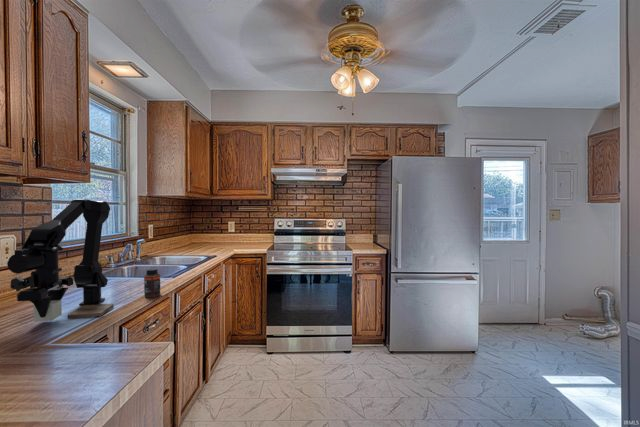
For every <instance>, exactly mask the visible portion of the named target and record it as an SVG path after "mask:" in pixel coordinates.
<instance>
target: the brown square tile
mask: <svg viewBox="0 0 640 427" xmlns="http://www.w3.org/2000/svg"><path fill="white" fill-rule="evenodd" d="M112 307H113V308H115V306H114V303H103V304H102V303H99V304H92V305H80V307H78V308H76V309H75V310H73V311H72V312H70V313H68V314H67V319H79V318H78V317H84V318H93V317H92V316H101V317H102V315H103V314H104V313H105V314H107V313H108V312H109V311H110V310H112V309H113V308H112ZM111 308H112V309H111ZM109 309H110V310H109ZM108 310H109V311H108ZM107 311H108V312H107ZM105 314H104V315H105ZM104 315H103V316H104Z"/></svg>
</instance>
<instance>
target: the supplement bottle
mask: <svg viewBox="0 0 640 427" xmlns="http://www.w3.org/2000/svg"><path fill="white" fill-rule="evenodd" d="M143 282H144V284H143V288H144V290H143V291H144V293H143V294H144V297H145V298H146V299H147V298H149V299H151V298H156V297H159V296H160V295H161V274H160V273H159V272H158V268H156V267H155V268H153V267H151V268H147V269H146V274H145V275H144V276H143Z"/></svg>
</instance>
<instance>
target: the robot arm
mask: <svg viewBox="0 0 640 427" xmlns="http://www.w3.org/2000/svg"><path fill="white" fill-rule="evenodd" d="M110 211H111V207H110V205H109V204H108V202H107V201H104V200H102V201H101V200H100V201H99V200H91V199H87V198H74V199H72V200H71V201H70V203H69V204H68V205H67V206H66V207H65V208H64V209H63V210H61V211H60V212H59V213H58V214H57V215H56V216H55V217H53V219H51V220H49V221H47V222H43V223H41V224H39V225H37V226H36V227H34V228H33V229H32V230H30V232H29V235H28V237H27V238H26V240H25V242H24V243H23V244H22V246H21V248H20V249H15V250H14V254H12V255H11V256H10V257H9V258H8V261H6V262H7V264H6V265H7V268H8V269H9V271H10V272H11V273H13V274H19V275H20V274H22V273H27V272H30V271H31V272H30V276H27V277H24V278H23V277H22V276H18V277H15V278H12V279H10V287H9V288H11V290H15V292H18V293H17V294H16V302H31V303H32V304H33V306H34V305H35V307H36V309H37V311H38V313H39V315H40V317H41V318H42V317H45V316H46V314H47V311H48V308H49V305H50V301H52V300H61V301H62V300H63V297H64V295H65V294H66V292H67V290H69V288H68V287H71V286H73V285H74V283H75V287H76V289H82V301H81V302H80V303H78V305H79V306H83V305H98V304H101V303H102V302H104V301H105V300H106V298H105V297H102V288H105V287H106V286H107V285H108V278H107V277H106V276H105V275H104V274H103V267H102V265H101V263H100V261H99V256H100V250H101V249H100V247H101V239H102V230H103V224H104V223H105V222H106V221H107V219H108V218H109V215H110ZM81 215H82V217H83V218H84V221H85V222H86V228H85V237H84V245H83V252H82V258H81V261H80V263H79V264H76V265H75V266H74V273H73V275H72V277H71V276H60V273H59V272H62V270H63V269H62V267H59V251H60V252H61V251H63V250H64V247H62V246H60V245H59V244H60V243H61V242H62V241H63V239H64V238H65V237H66V232H67V231H66V230H67V229H68V228H69V227H70V226H71V225H72V224H73V223H75V221H77V219H79V218H80V217H81ZM64 286H67V287H64Z"/></svg>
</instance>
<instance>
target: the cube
mask: <svg viewBox="0 0 640 427" xmlns="http://www.w3.org/2000/svg"><path fill="white" fill-rule="evenodd" d="M62 309H63V308H62V299H61V300H52V301H50V305H49V308H48V311H47V314H46V316H45V317H42V318H41V317H40V315H39V313H38V311H37V309H36V307H35V305H34V304H33V323H35V322H48V321H49V322H51V321H54V320H55V319H57V318H59V317H61V316H63V315H62V314H63V313H62Z"/></svg>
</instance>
